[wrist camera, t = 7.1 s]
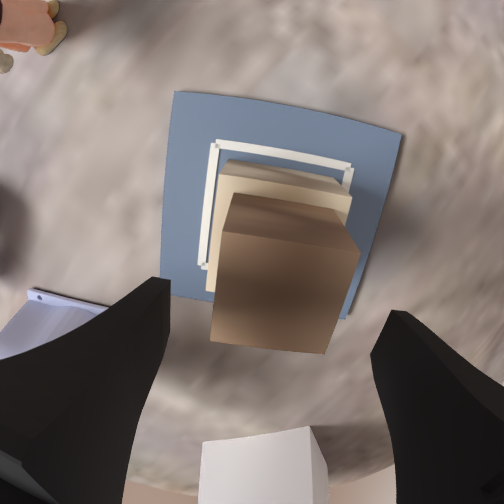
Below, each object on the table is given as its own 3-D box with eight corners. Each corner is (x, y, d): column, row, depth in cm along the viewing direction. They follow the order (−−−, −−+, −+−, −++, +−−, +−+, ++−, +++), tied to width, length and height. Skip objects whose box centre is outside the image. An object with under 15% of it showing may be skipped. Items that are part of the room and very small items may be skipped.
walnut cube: (222, 280, 16) (209, 340, 12) (233, 192, 14) (222, 231, 10) (310, 292, 16) (324, 354, 12) (333, 208, 14) (360, 252, 10)
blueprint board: (162, 288, 22) (159, 293, 21) (176, 91, 16) (173, 91, 15) (343, 314, 22) (345, 320, 22) (397, 133, 17) (402, 134, 16)
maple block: (215, 255, 20) (205, 290, 16) (227, 159, 17) (218, 173, 13) (310, 269, 20) (320, 306, 16) (333, 177, 17) (352, 197, 14)
